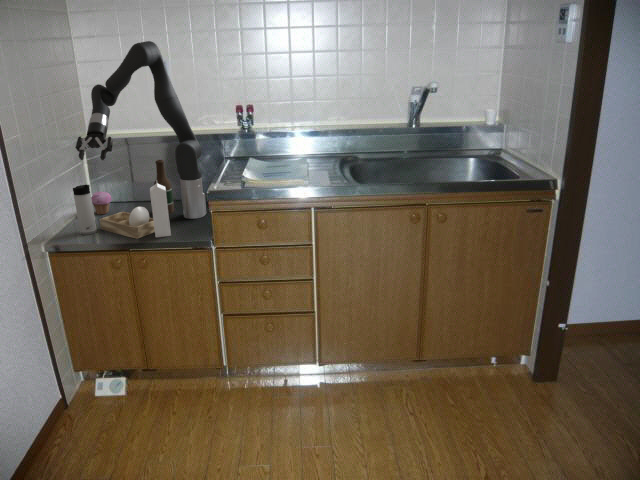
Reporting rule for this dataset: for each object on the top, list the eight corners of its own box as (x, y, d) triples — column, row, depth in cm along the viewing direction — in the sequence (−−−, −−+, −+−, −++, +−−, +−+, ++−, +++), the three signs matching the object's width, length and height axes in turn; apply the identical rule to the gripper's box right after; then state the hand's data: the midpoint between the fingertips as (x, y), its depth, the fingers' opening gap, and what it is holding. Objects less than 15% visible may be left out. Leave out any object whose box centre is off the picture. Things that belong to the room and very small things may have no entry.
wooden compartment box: (124, 221, 236) (123, 211, 235) (160, 229, 225) (158, 219, 224) (101, 229, 227) (99, 219, 225) (137, 238, 216) (135, 228, 214)
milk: (155, 237, 217) (148, 183, 209) (155, 232, 222) (148, 180, 214) (171, 235, 218) (164, 182, 211) (170, 231, 224) (164, 178, 216)
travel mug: (91, 235, 220) (83, 187, 213) (77, 234, 221) (68, 186, 214) (100, 230, 225) (93, 183, 218) (86, 229, 227) (78, 182, 220)
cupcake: (95, 210, 251) (91, 189, 247) (114, 209, 252) (111, 188, 249) (91, 216, 243) (87, 195, 239) (111, 215, 244) (108, 193, 241)
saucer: (148, 225, 226) (145, 203, 223) (150, 226, 226) (147, 204, 222) (129, 232, 219) (126, 209, 215) (132, 233, 218) (128, 210, 215)
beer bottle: (178, 211, 248) (172, 159, 240) (165, 216, 242) (158, 163, 234) (166, 208, 252) (160, 157, 244) (153, 213, 246) (146, 161, 238)
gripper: (77, 121, 228) (70, 154, 221) (111, 121, 228) (105, 154, 221) (84, 131, 234) (77, 164, 228) (117, 131, 234) (112, 164, 228)
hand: (91, 159), depth 224 cm, fingers open, 8 cm apart
